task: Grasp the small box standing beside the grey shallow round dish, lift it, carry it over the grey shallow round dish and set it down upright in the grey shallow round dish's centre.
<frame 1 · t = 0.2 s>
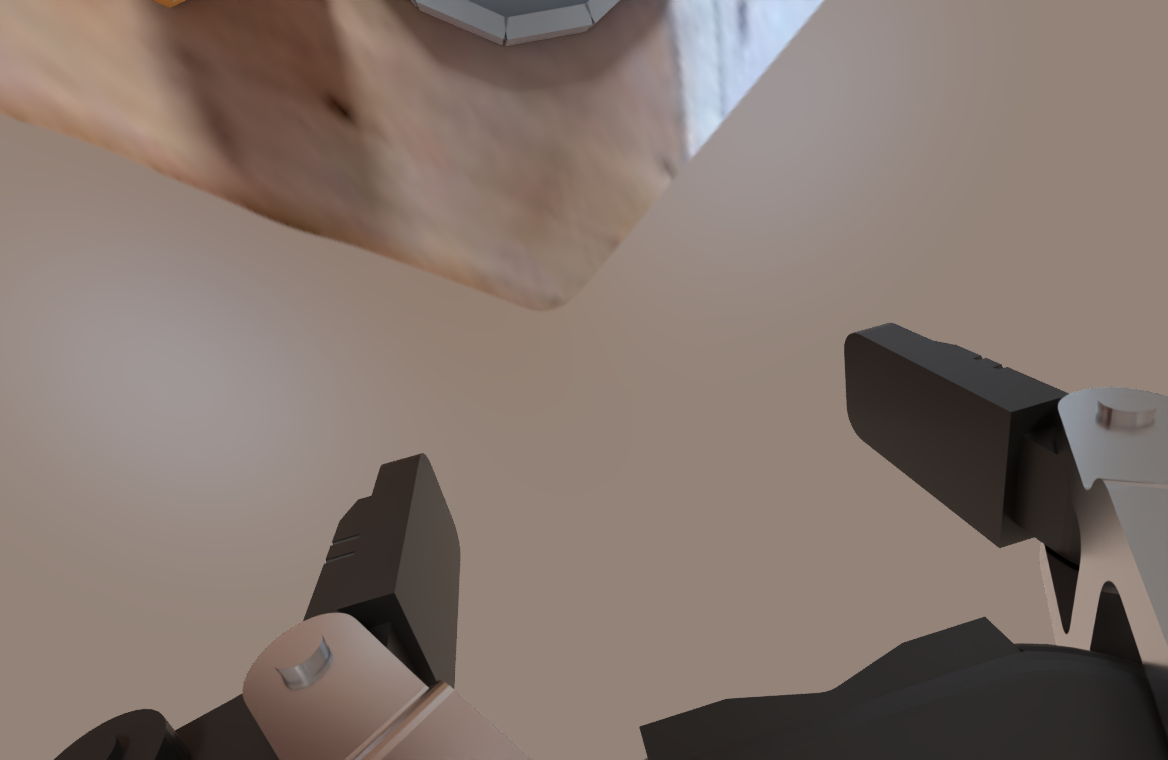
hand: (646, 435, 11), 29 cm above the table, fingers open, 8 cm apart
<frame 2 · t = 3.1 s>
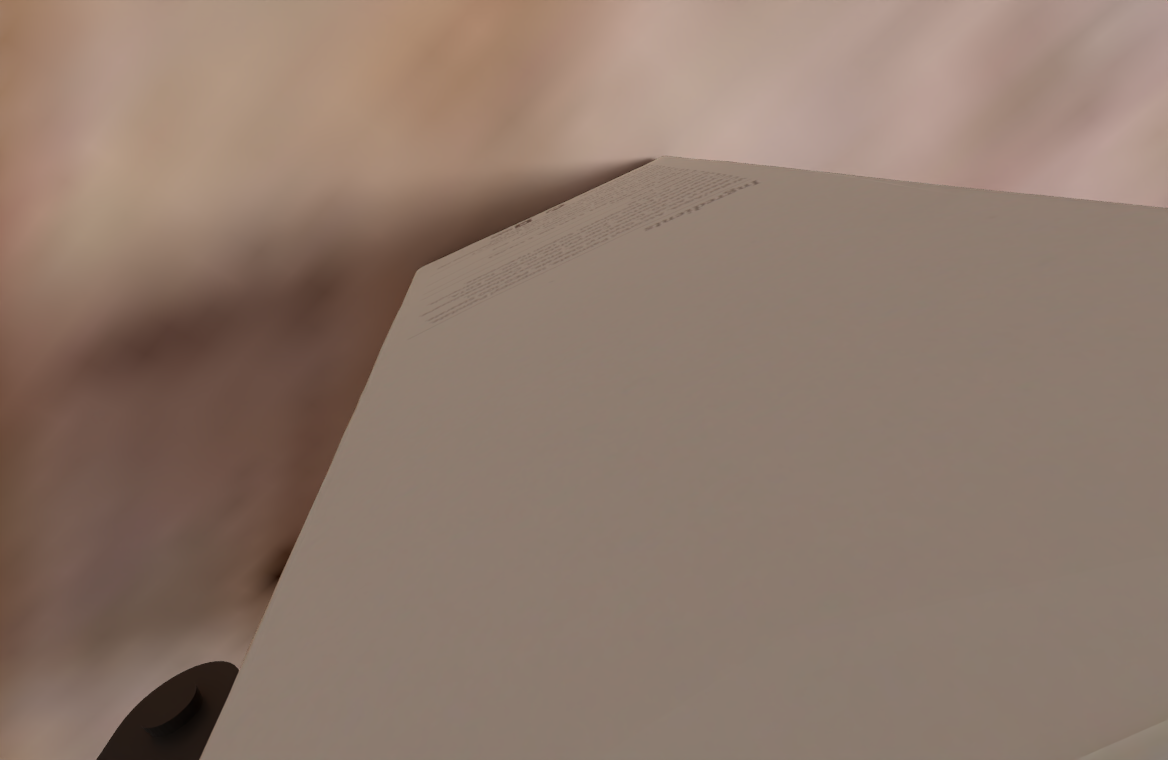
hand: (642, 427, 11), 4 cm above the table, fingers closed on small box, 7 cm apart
small box: (602, 356, 15), on the table, touching gripper
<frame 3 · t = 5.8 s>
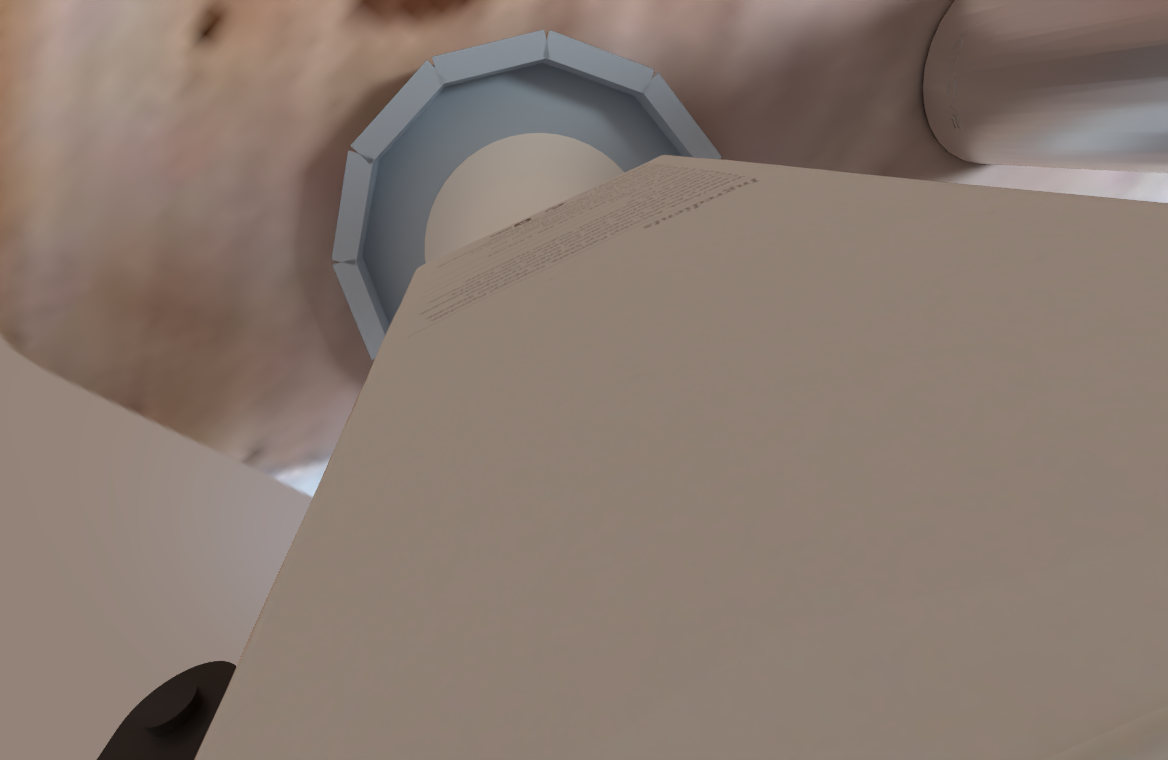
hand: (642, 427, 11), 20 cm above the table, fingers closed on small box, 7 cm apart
grey shallow round dish: (540, 253, 29), on the table
small box: (602, 355, 15), point 15 cm above the table, touching gripper
when the fingers open (7 cm above the table, at t = 8.8 s): small box drops 2 cm, resting on grey shallow round dish.
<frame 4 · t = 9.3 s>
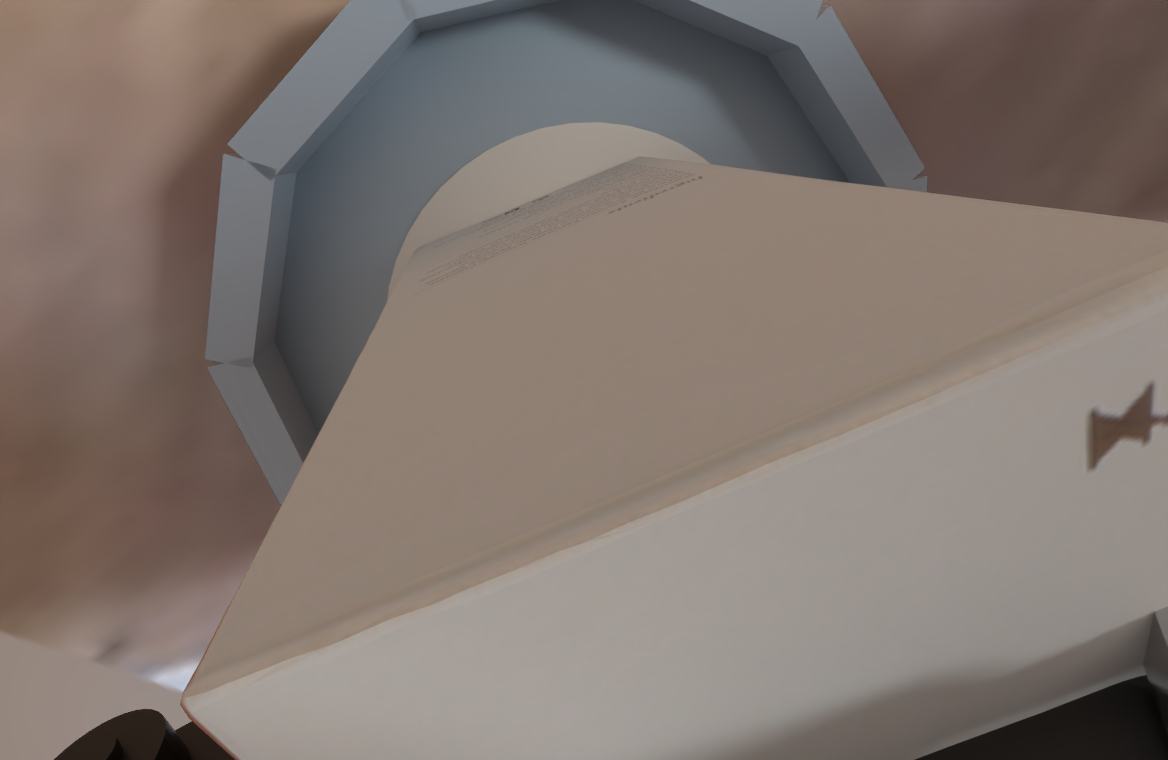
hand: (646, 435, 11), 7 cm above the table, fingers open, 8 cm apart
grey shallow round dish: (585, 327, 17), on the table
small box: (581, 336, 17), point 1 cm above the table, touching grey shallow round dish
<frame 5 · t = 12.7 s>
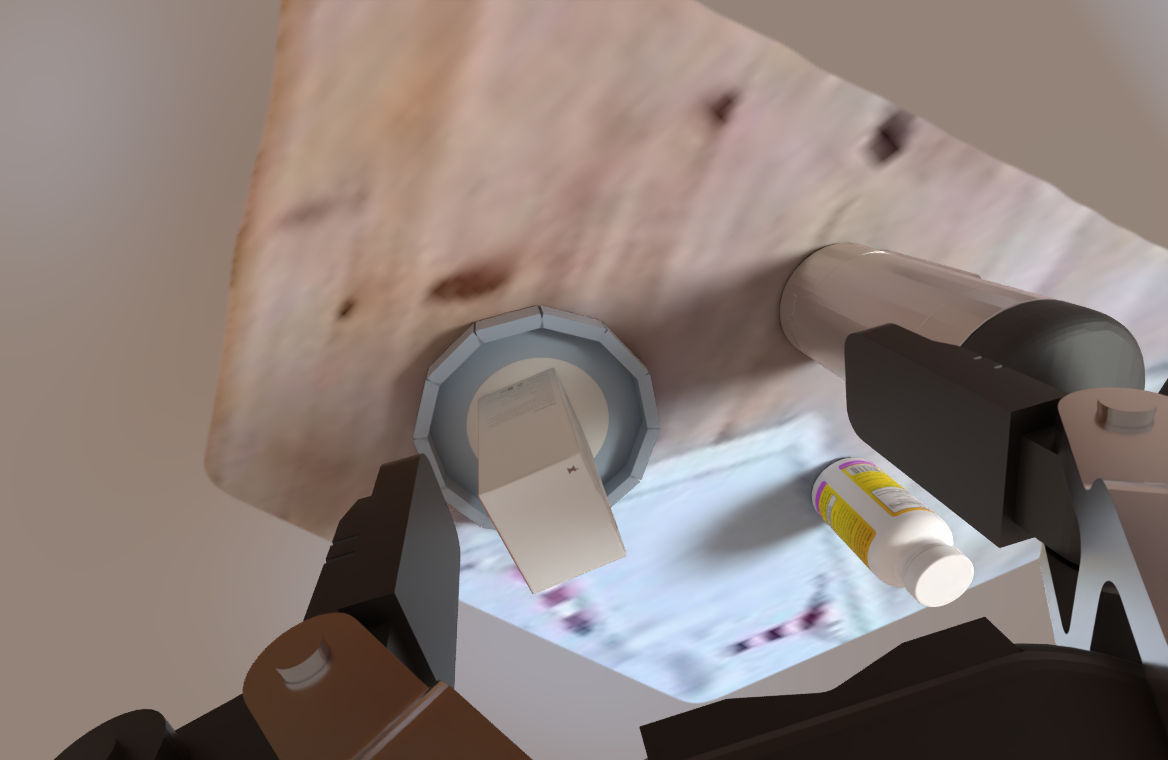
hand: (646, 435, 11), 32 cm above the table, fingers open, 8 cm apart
grey shallow round dish: (538, 419, 46), on the table
small box: (535, 424, 45), point 1 cm above the table, touching grey shallow round dish
supplement bottle: (841, 484, 54), on the table
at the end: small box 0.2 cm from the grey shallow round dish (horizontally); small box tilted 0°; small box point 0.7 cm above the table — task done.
